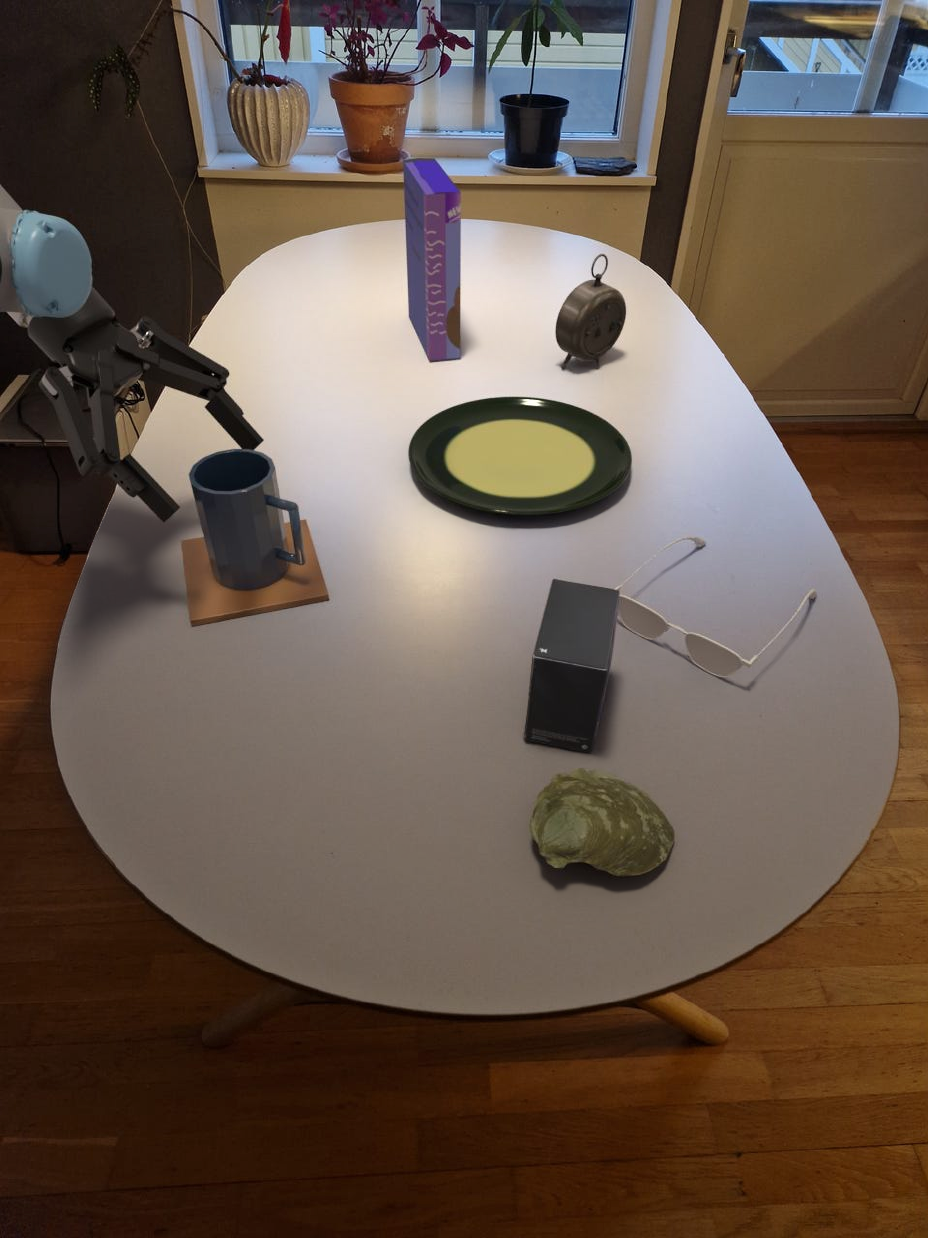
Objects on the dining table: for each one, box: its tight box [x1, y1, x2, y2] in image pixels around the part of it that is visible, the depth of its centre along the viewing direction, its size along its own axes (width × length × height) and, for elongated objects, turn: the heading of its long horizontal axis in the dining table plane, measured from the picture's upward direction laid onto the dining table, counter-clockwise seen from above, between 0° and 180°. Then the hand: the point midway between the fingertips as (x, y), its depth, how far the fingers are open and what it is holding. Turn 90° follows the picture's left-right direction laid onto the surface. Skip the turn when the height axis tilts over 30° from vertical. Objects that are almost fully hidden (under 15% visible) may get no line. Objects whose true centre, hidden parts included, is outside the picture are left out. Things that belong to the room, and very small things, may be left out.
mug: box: [188, 448, 306, 591], centre depth 88 cm, size 11×8×12 cm
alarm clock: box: [555, 253, 627, 370], centre depth 126 cm, size 11×5×16 cm, turn 129°
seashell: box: [529, 767, 676, 877], centre depth 67 cm, size 10×7×10 cm
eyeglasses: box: [614, 535, 818, 678], centre depth 88 cm, size 15×18×4 cm
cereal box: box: [402, 157, 462, 363], centre depth 130 cm, size 17×5×24 cm, turn 13°
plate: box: [407, 396, 633, 516], centre depth 109 cm, size 28×28×2 cm
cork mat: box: [180, 518, 330, 627], centre depth 93 cm, size 14×14×1 cm
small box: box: [522, 578, 621, 753], centre depth 75 cm, size 11×6×10 cm, turn 167°
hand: (216, 479), depth 86 cm, fingers open, 13 cm apart
